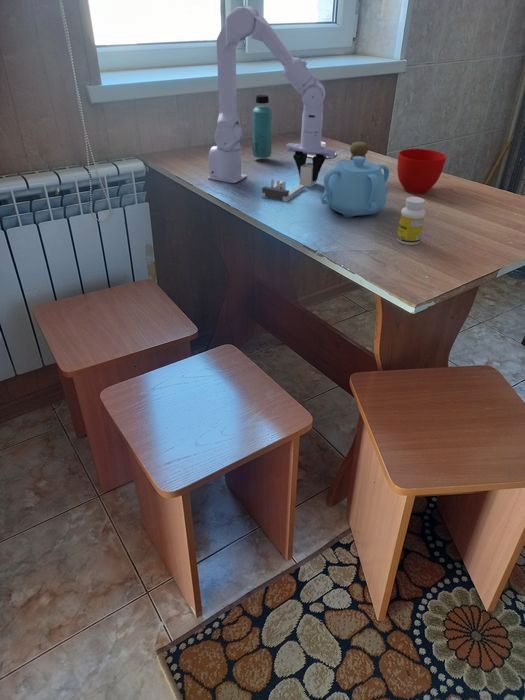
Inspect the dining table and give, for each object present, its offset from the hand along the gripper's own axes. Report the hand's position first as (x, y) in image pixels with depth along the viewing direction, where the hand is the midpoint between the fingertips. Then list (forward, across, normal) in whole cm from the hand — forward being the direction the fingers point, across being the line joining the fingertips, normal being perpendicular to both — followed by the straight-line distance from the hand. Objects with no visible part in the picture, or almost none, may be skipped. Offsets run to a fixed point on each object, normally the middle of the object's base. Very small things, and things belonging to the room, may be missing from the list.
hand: (308, 179), depth 152 cm
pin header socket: (+1, +3, +12) cm, 12 cm away
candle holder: (+2, +10, -33) cm, 35 cm away
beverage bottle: (+2, +24, -16) cm, 29 cm away
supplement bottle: (+2, -37, +27) cm, 46 cm away
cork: (+2, -11, -11) cm, 16 cm away
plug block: (+1, 0, 0) cm, 1 cm away
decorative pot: (+2, -19, +14) cm, 24 cm away
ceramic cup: (+2, -30, -13) cm, 33 cm away
